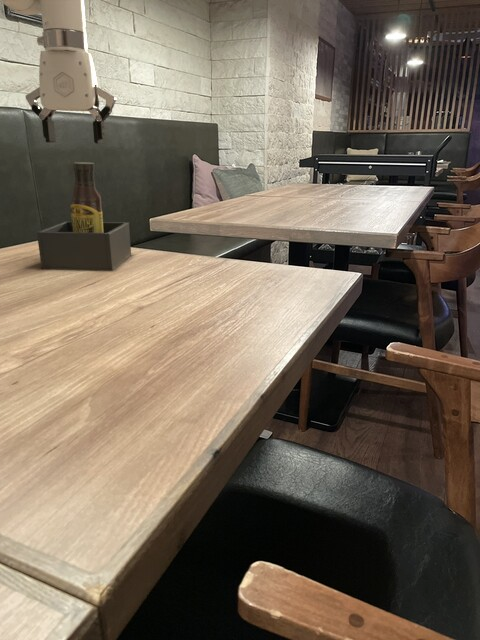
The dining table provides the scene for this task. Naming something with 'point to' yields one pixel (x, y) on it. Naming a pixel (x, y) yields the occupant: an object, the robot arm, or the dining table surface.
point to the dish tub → (84, 247)
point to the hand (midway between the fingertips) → (74, 142)
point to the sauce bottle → (86, 201)
